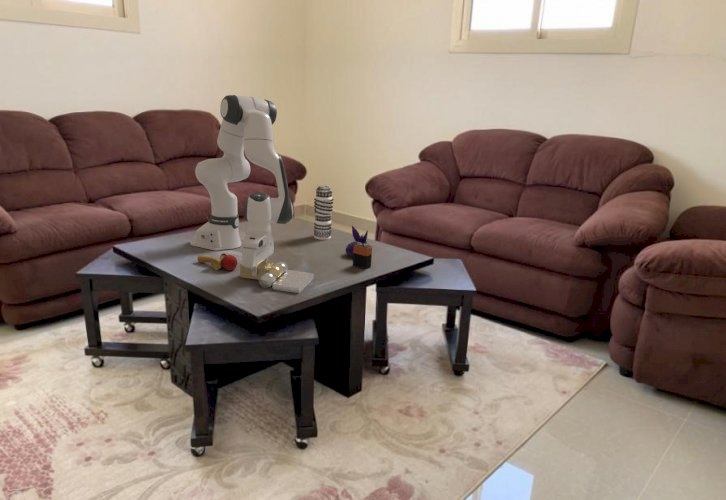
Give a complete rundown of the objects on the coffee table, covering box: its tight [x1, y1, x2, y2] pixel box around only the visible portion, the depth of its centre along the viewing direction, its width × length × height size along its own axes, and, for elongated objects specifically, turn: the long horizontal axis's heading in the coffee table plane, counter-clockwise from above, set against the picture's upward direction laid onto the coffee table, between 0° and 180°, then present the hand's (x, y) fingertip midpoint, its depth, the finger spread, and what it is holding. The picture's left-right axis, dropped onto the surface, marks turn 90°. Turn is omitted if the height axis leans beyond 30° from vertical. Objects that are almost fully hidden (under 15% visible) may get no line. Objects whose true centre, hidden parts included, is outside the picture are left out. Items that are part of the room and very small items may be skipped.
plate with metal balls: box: [258, 261, 315, 294], centre depth 195 cm, size 16×16×5 cm
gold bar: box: [239, 261, 284, 281], centre depth 197 cm, size 6×15×5 cm, turn 76°
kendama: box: [197, 252, 238, 271], centre depth 207 cm, size 8×6×18 cm
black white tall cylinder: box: [313, 185, 334, 241], centre depth 251 cm, size 9×9×25 cm
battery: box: [352, 242, 373, 270], centre depth 217 cm, size 4×7×10 cm, turn 57°
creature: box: [345, 225, 369, 257], centre depth 232 cm, size 9×18×12 cm, turn 155°
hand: (259, 272), depth 198 cm, fingers closed on gold bar, 6 cm apart
